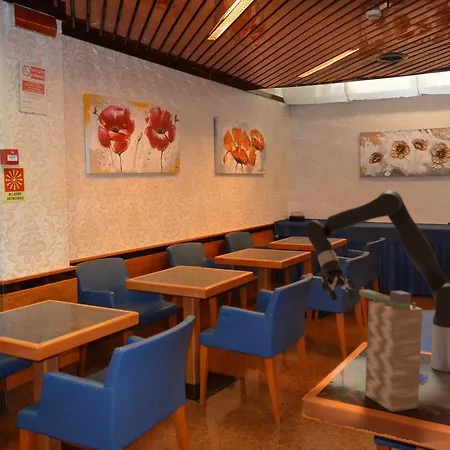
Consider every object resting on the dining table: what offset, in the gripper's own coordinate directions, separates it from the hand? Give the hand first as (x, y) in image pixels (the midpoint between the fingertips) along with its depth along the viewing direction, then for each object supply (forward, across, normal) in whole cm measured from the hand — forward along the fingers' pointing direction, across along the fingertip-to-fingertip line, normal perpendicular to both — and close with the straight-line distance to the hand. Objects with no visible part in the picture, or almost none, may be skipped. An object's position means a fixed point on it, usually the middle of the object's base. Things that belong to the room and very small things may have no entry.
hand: (344, 300), depth 199 cm
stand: (+41, -5, -8) cm, 42 cm away
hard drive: (+32, +17, +3) cm, 36 cm away
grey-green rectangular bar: (+12, -6, -23) cm, 27 cm away
